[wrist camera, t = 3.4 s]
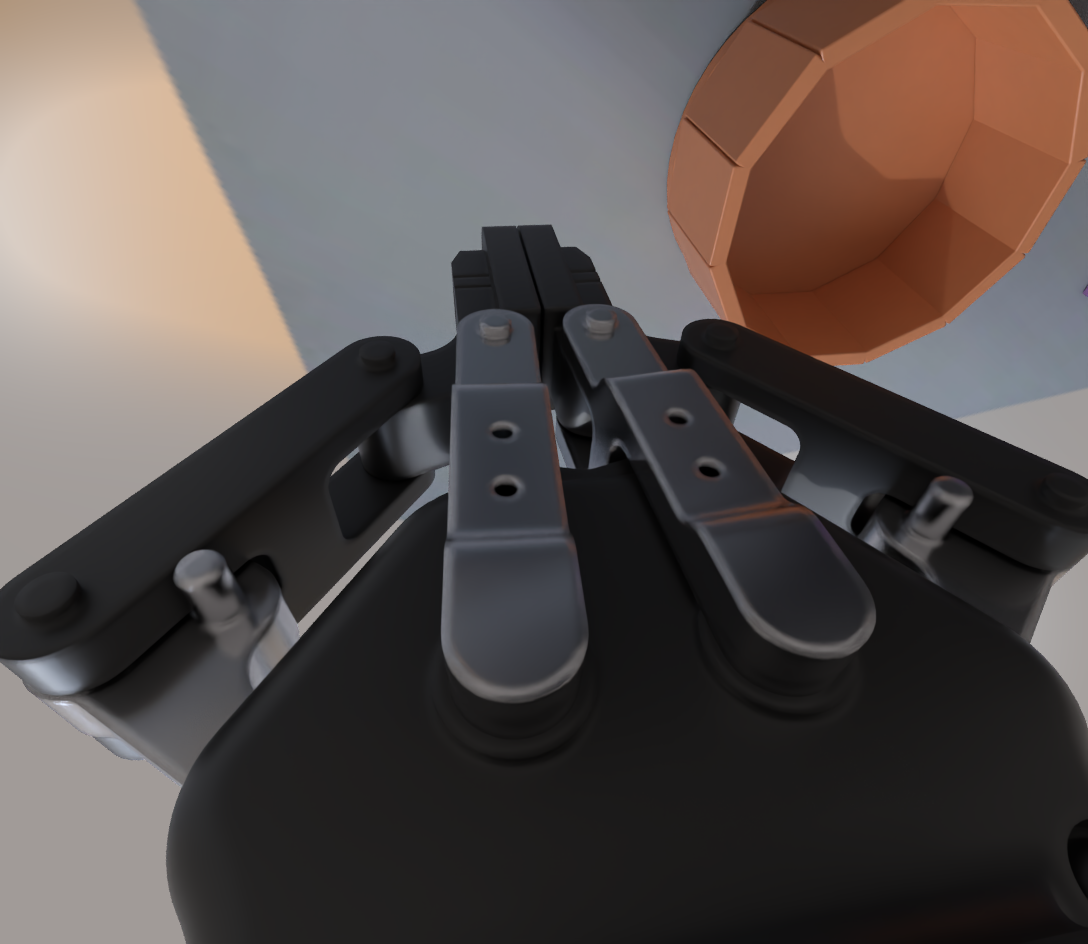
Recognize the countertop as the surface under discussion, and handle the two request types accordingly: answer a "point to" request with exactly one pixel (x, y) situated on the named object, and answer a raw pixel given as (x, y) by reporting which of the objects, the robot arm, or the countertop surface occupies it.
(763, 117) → the pan
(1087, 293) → the towel
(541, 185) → the countertop surface
